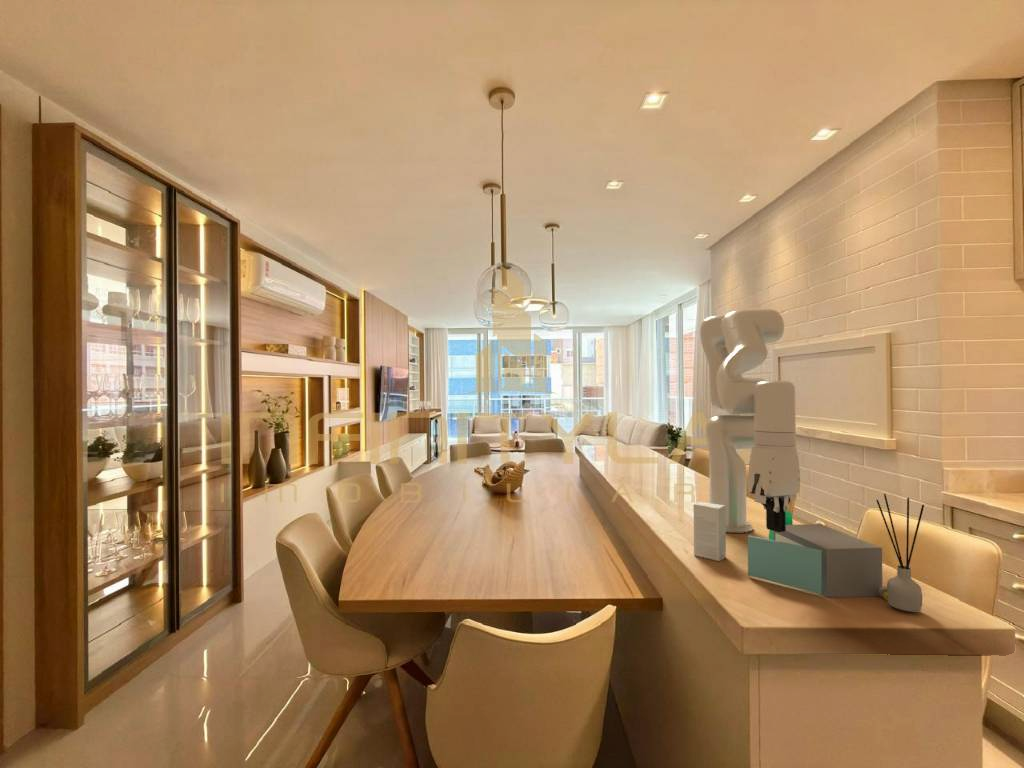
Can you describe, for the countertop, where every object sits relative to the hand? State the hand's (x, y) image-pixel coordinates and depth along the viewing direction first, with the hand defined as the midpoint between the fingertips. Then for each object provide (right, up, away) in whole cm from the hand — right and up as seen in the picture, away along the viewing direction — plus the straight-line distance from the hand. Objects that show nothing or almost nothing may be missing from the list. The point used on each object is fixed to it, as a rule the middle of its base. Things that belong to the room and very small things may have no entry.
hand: (775, 530), depth 98 cm
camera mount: (+12, -11, +15) cm, 22 cm away
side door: (-1, -9, -4) cm, 10 cm away
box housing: (+9, -10, -1) cm, 14 cm away
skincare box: (-8, -10, +13) cm, 18 cm away
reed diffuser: (+14, -10, -13) cm, 22 cm away
